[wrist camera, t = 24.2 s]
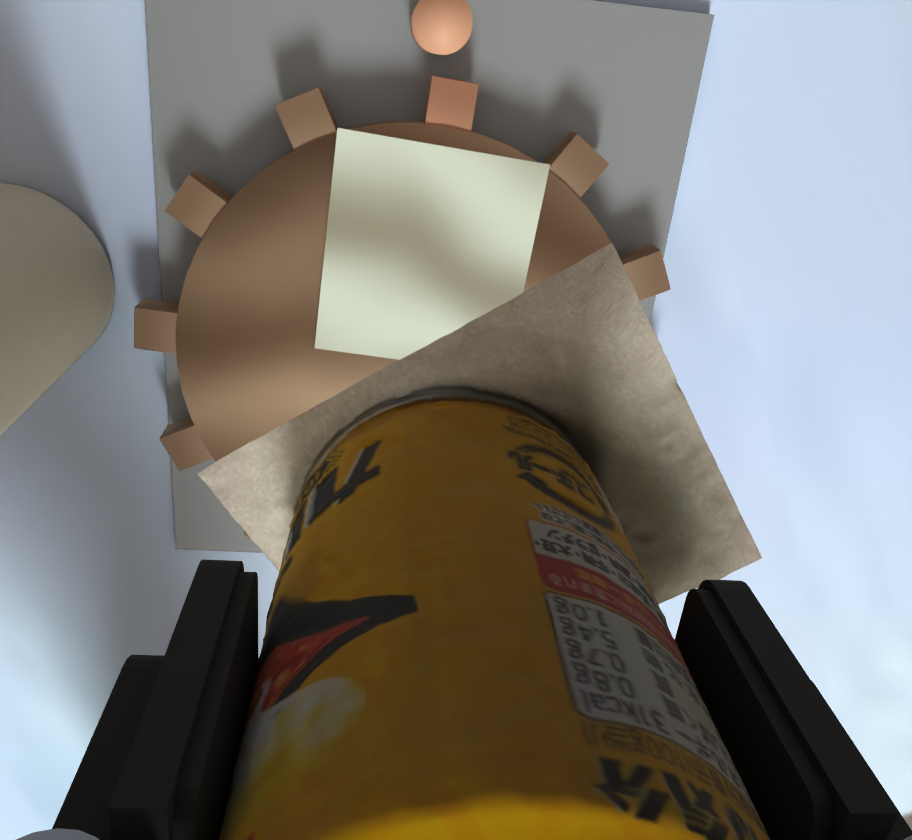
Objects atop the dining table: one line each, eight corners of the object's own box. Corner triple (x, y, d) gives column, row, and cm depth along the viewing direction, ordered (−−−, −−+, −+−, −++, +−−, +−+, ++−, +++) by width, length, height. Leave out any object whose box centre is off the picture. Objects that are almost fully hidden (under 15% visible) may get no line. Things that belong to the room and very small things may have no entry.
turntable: (594, 586, 43) (626, 673, 37) (141, 541, 40) (97, 629, 34) (728, 129, 33) (802, 148, 27) (147, 22, 30) (87, 16, 24)
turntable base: (596, 560, 43) (623, 627, 38) (178, 543, 41) (148, 612, 36) (709, 15, 32) (767, 9, 27) (145, -52, 30) (96, -72, 25)
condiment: (199, 468, 15) (-355, 1612, 4) (609, 240, 14) (1484, 980, 3) (400, 718, 18) (407, 1786, 7) (755, 548, 16) (1468, 1518, 6)
